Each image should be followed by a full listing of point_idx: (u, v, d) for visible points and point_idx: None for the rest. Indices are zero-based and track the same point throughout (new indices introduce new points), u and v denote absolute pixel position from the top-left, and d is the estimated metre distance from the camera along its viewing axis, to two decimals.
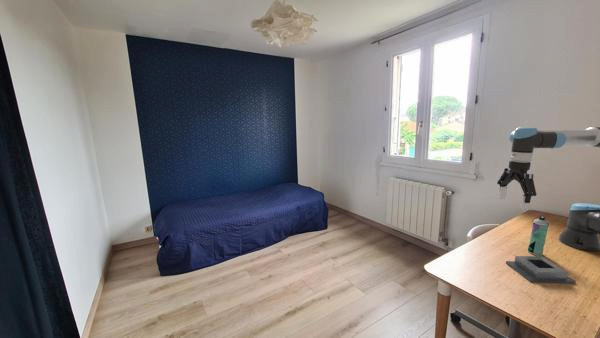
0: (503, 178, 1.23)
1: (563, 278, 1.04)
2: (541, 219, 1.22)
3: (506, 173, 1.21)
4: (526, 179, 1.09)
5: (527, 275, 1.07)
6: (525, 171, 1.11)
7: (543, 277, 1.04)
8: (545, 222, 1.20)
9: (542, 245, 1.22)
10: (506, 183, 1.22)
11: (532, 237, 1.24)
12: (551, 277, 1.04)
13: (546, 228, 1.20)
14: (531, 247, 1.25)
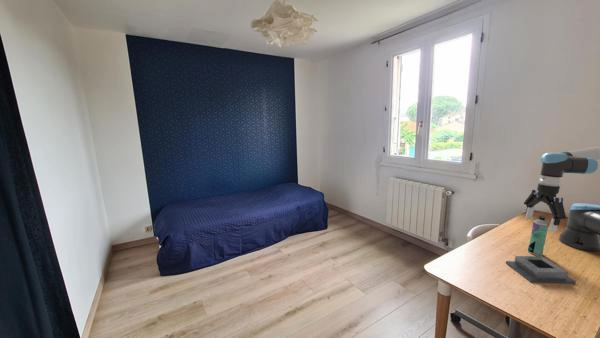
0: (530, 199, 1.28)
1: (563, 278, 1.04)
2: (541, 219, 1.22)
3: (534, 194, 1.26)
4: (556, 203, 1.14)
5: (527, 275, 1.07)
6: (554, 194, 1.16)
7: (543, 277, 1.04)
8: (545, 222, 1.20)
9: (542, 245, 1.22)
10: (533, 204, 1.27)
11: (532, 237, 1.24)
12: (551, 277, 1.04)
13: (546, 228, 1.20)
14: (531, 247, 1.25)
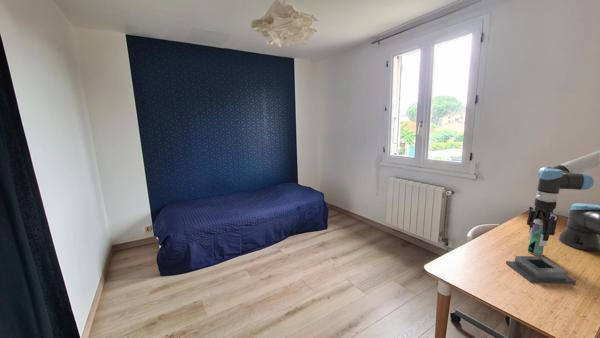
0: (531, 217, 1.27)
1: (563, 278, 1.04)
2: None
3: (532, 212, 1.27)
4: (550, 220, 1.16)
5: (527, 275, 1.07)
6: (552, 212, 1.17)
7: (543, 277, 1.04)
8: None
9: None
10: None
11: (532, 237, 1.24)
12: (551, 277, 1.04)
13: None
14: (531, 247, 1.25)
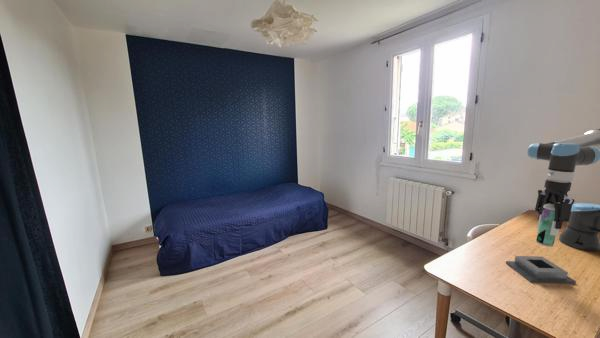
0: (540, 202, 1.09)
1: (563, 278, 1.04)
2: (552, 203, 1.03)
3: (542, 195, 1.08)
4: (564, 204, 0.98)
5: (527, 275, 1.07)
6: (566, 194, 0.98)
7: (543, 277, 1.04)
8: None
9: None
10: None
11: (542, 225, 1.05)
12: (551, 277, 1.04)
13: None
14: (540, 237, 1.06)
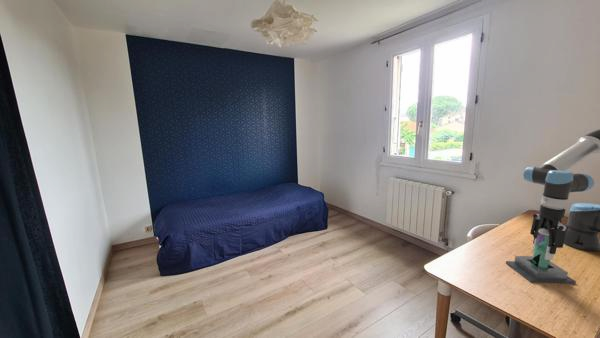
0: (535, 226, 1.11)
1: (563, 278, 1.04)
2: (547, 229, 1.05)
3: (537, 220, 1.10)
4: (558, 231, 1.00)
5: (527, 275, 1.07)
6: (560, 220, 1.00)
7: (543, 277, 1.04)
8: None
9: None
10: None
11: (537, 249, 1.08)
12: (551, 277, 1.04)
13: None
14: (535, 260, 1.09)
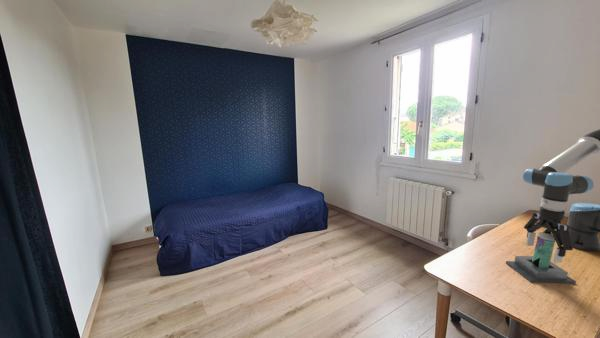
0: (531, 223, 1.13)
1: (563, 278, 1.04)
2: (547, 233, 1.05)
3: (535, 218, 1.11)
4: (560, 231, 0.99)
5: (527, 275, 1.07)
6: (559, 221, 1.01)
7: (543, 277, 1.04)
8: (551, 236, 1.04)
9: (547, 262, 1.06)
10: (535, 229, 1.12)
11: (536, 253, 1.08)
12: (551, 277, 1.04)
13: (552, 244, 1.04)
14: (535, 264, 1.09)
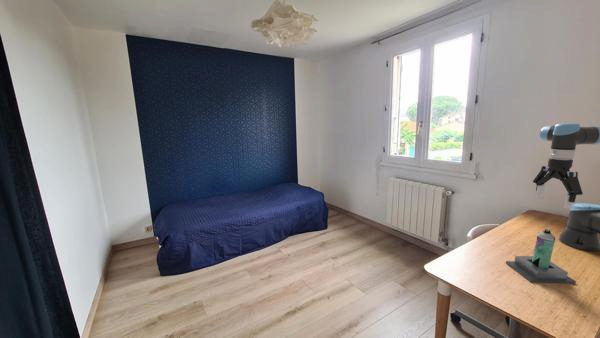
0: (540, 176, 1.18)
1: (563, 278, 1.04)
2: (546, 233, 1.06)
3: (544, 171, 1.16)
4: (570, 177, 1.04)
5: (527, 275, 1.07)
6: (568, 169, 1.06)
7: (543, 277, 1.04)
8: (551, 236, 1.04)
9: (547, 262, 1.06)
10: (544, 181, 1.17)
11: (536, 253, 1.08)
12: (551, 277, 1.04)
13: (552, 244, 1.04)
14: (534, 264, 1.09)
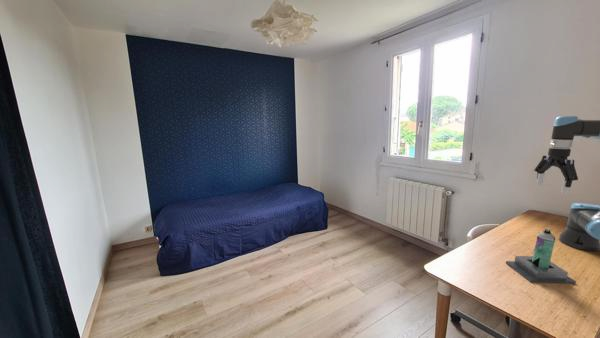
0: (541, 165, 1.30)
1: (563, 278, 1.04)
2: (546, 233, 1.06)
3: (544, 160, 1.28)
4: (567, 164, 1.15)
5: (527, 275, 1.07)
6: (566, 157, 1.17)
7: (543, 277, 1.04)
8: (551, 236, 1.04)
9: (547, 262, 1.06)
10: (544, 170, 1.28)
11: (536, 253, 1.08)
12: (551, 277, 1.04)
13: (552, 244, 1.04)
14: (534, 264, 1.09)
